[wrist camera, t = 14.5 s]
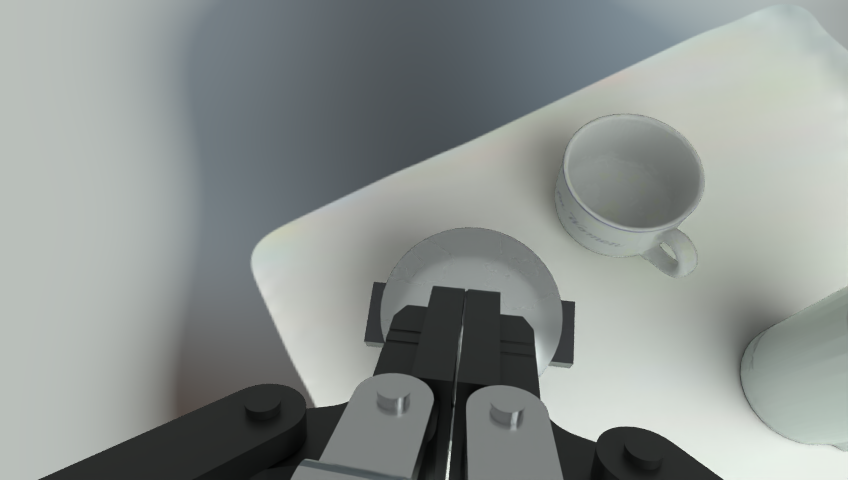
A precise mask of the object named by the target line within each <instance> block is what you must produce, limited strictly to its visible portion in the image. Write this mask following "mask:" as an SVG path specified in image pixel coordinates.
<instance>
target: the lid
mask: <svg viewBox="0 0 848 480" xmlns="http://www.w3.org/2000/svg"><path fill="white" fill-rule="evenodd" d="M433 286H443V287H453V288H463V289H465V300H464V312H463V324H462V335H463V327H464V318H465V310H466V302H467V294H468V289H475V290H485V291H495V292H500V293H501V303H500V314H505V315H515V316H523V317H524V318H525V319H526V321H527V322H528V323H529V324H530V326H531V327H532V328H533V329H534V337H535V348H536V358H537V369H538V378H539V377H540V375H541V374H542V373H543V371H544V370H545V369H546V368H547V366H548V365H549V363H550V361H551V360H552V358H553V356H554V354H555V352H556V349H557V347H558V344H559V340H560V336H561V331H562V322H563V317H562V305H561V299H560V295H559V292H558V288H557V286H556V283H555V281H554V279H553V277H552V275H551V273H550V272H549V270H548V269H547V267H546V266H545V264H544V263H543V262H542V261H541V259H540V258H539V257H538V256H537V255H536V254H535V253H534V252H533V251H532V250H531V249H529V248H528V247H527V246H525V245H524V244H522V243H521V242H519V241H518V240H516V239H514V238H512V237H510V236H508V235H505V234H503V233H500V232H497V231H493V230H489V229H483V228H457V229H452V230H447V231H444V232H441V233H438V234H435V235H433V236H431V237H429V238H427V239H425V240H423V241H422V242H420V243H419V244H417V245H416V246H414V247H413V248H412V249H411V250H410V251H408V252H407V253H406V254H405V255H404V257H403V258H402V259H401V260H400V261H399V262H398V264H397V265H396V267H395V268H394V269H393V271H392V273H391V275H390V277H389V279H388V281H387V284H386V286H385V289H384V292H383V297H382V302H381V313H380V316H381V328H382V333H383V338H384V341H385V340H386V337H387V334H388V331H389V328H390V325H391V322H392V319H393V316H394V315H395V314H396V313H397V312H399V311H400V310H401V309H402V308H404V307H405V306H406V305H415V306H425V307H428V303H429V299H430V295H431V291H432V287H433ZM461 343H462V336H461ZM460 352H461V348H460ZM459 360H460V359H459ZM455 398H456V395H455ZM454 405H455V404H454Z"/></svg>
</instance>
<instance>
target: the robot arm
mask: <svg viewBox="0 0 848 480" xmlns="http://www.w3.org/2000/svg"><path fill="white" fill-rule="evenodd" d="M464 300H465V289H463V288H453V287H443V286H433V287H432V291H431V295H430V299H429V303H428V307H425V306H415V305H406V306H405V307H404V308H402V309H401V310H400V311H399V312H397V313H396V314H395V315H394V316H393V319H392V322H391V325H390V328H389V331H388V334H387V337H386V340H385V342H384V345H383V348H382V351H381V354H380V357H379V360H378V363H377V365H376V368H375V371H374V374H373V377H370V378H368V379H366V380H364V381H363V382H362V383H360V384H359V385H358V386H357V388H356V389H355V391H354V393H353V395H352V397H351V399H350V401H349V402H346V403H343V404H339V405H335V406H328V407H319V408H309V409H306V402H305V399H304V397H303V396H302V395H301V394H300V393H299V392H298V391H296V390H295V389H293V388H290V387H288V386H284V385H278V384H261V385H255V386H252V387H248V388H245V389H243V390H240V391H238V392H236V393H233V394H231V395H229V396H227V397H225V398H222V399H220V400H218V401H216V402H213V403H211V404H209V405H206V406H204V407H202V408H200V409H197V410H195V411H193V412H190V413H188V414H186V415H184V416H181V417H179V418H177V419H175V420H172V421H170V422H168V423H166V424H163V425H161V426H159V427H156V428H154V429H152V430H150V431H147V432H145V433H143V434H141V435H138V436H136V437H134V438H132V439H129V440H127V441H125V442H123V443H120V444H118V445H116V446H113V447H112V448H109V449H107V450H105V451H102V452H100V453H98V454H95V455H93V456H91V457H89V458H86V459H84V460H82V461H80V462H77V463H75V464H73V465H70V466H68V467H66V468H64V469H61V470H59V471H57V472H55V473H53V474H50V475H48V476H46V477H43V478H41V479H39V480H445V479H446V470H447V462H448V454H449V445H450V437H451V429H452V420H453V412H454V422H453V435H452V447H451V459H450V471H449V480H723V479H722V478H720V477H719V476H718V475H716V474H715V473H714V472H712V471H711V470H709V469H708V468H707V467H705V466H704V465H703V464H701V463H700V462H698V461H697V460H696V459H694V458H693V457H692V456H690V455H689V454H687V453H686V452H685V451H683V450H682V449H681V448H679V447H678V446H676V445H675V444H674V443H672V442H671V441H669V440H668V439H666V438H665V437H663V436H661V435H659V434H657V433H654V432H652V431H649V430H645V429H642V428H637V427H616V428H612V429H609V430H607V431H605V432H603V433H602V434H601V435H600V436H599V438H598V440H597V442H594V441H591V440H588V439H585V438H582V437H579V436H577V435H574V434H572V433H570V432H568V431H566V430H564V429H562V428H561V427H559V426H557V425H556V424H555V423H554V422H553V421H551V420H550V418H549V414H548V411H547V408H546V406H545V405H544V403H543V402H542V401H541V400H540V390H539V380H538V369H537V358H536V348H535V337H534V329H533V328H532V327H531V326H530V324H529V323H528V322H527V321H526V319H525V318H524V317H523V316H515V315H505V314H500V303H501V293H500V292H495V291H485V290H475V289H468V294H467V302H466V310H465V318H464V327H463V335H462V324H463V312H464ZM461 336H462V343H461ZM460 348H461V352H460ZM459 359H460V360H459ZM740 373H741V381H742V386H743V389H744V392H745V395H746V398H747V400H748V401H749V403H750V405H751V407H752V409H753V410H754V411H755V412H756V414H757V415H758V416H759V417H760V419H761V420H762V421H763V422H764V423H766V424H767V425H768V426H769V427H770V428H771V429H773V430H774V431H776V432H777V433H779V434H781V435H782V436H784V437H786V438H788V439H791V440H794V441H796V442H799V443H804V444H810V445H825V444H827V445H833V446H836V447H838V448H839V449H841V450H843V451H848V286H846V287H845V288H843V289H841V290H839V291H837V292H835V293H833V294H832V295H830V296H828V297H826V298H824V299H822V300H821V301H819V302H817V303H815V304H813V305H811V306H809V307H808V308H806V309H804V310H802V311H800V312H798V313H796V314H795V315H793V316H791V317H789V318H787V319H785V320H783V321H782V322H780V323H778V324H776V325H773V326H771V327H770V328H768V329H767V330H765V331H763V332H762V333H760V334H759V335H758V336H756V337H755V338H754V339H753V340H752V341H751V342H750V344H749V345H748V347H747V348H746V350H745V352H744V355H743V358H742V361H741V371H740ZM455 395H456V398H455ZM454 404H455V410H454Z"/></svg>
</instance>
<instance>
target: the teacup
mask: <svg viewBox="0 0 848 480" xmlns="http://www.w3.org/2000/svg"><path fill="white" fill-rule="evenodd" d="M704 183H705V179H704V170H703V167H702V164H701V161H700V158H699V156H698V154H697V152H696V151H695V149H694V148H693V147H692V145H691V144H690V143H689V141H688V140H687V139H686V138H685V137H684V136H682V135H681V134H680V133H679V132H678V131H676V130H675V129H673V128H672V127H670V126H669V125H667V124H665V123H663V122H661V121H659V120H656V119H653V118H650V117H647V116H643V115H636V114H613V115H608V116H603V117H599V118H597V119H595V120H593V121H591V122H589V123H587V124H585V125H584V126H583V127H581V128H580V129H579V130H578V131H577V132H576V133H575V134H574V135H573V137H572V138H571V140H570V141H569V143H568V145H567V147H566V150H565V153H564V157H563V162H562V165H561V168H560V172H559V175H558V178H557V183H556V189H555V205H556V210H557V214H558V216H559V219H560V221H561V223H562V225H563V227H564V228H565V229H566V231H567V232H568V233H569V234H570V235H571V237H572V238H573V239H575V240H576V241H577V242H578V243H580V244H581V245H582V246H584V247H586V248H587V249H589V250H591V251H593V252H596V253H599V254H602V255H606V256H612V257H629V256H634V255H638V254H639V255H641V256H642V257H643V258H644V259H647V260H649V261H650V262H651V263H653V264H654V265H655V266H656V267H657V268H659V269H660V270H661V271H662V272H664V273H665V274H667V275H669V276H671V277H683V276H686V275H688V274H689V273H691V272H692V271H693V270H694V269H695V267H696V265H697V261H698V260H697V252H696V249H695V247H694V245H693V243H692V242H691V240H690V239H689V238H688V237H687V236H686V235H685V234H684V233H683V232H681V231H680V230H678V229H677V227H678V226H679V225H680V223H681V222H682V221H683V220H684V219H685V218H687V217H688V216H689V215H690V214H691V213H692V212H693V211H694V209H695V208H696V207H697V205H698V203H699V202H700V200H701V197H702V194H703V191H704ZM663 242H664V243H667V244H668V245H669V246H670V247H671V248H672V249H673V251H674V253H675V255H676V258H677V261H676V260H675V259H673V258H672V257H671V256H669V255H668V254H667V253H666V252H665V251H664V250H663V249H662V248H661V247H660V244H661V243H663Z"/></svg>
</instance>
